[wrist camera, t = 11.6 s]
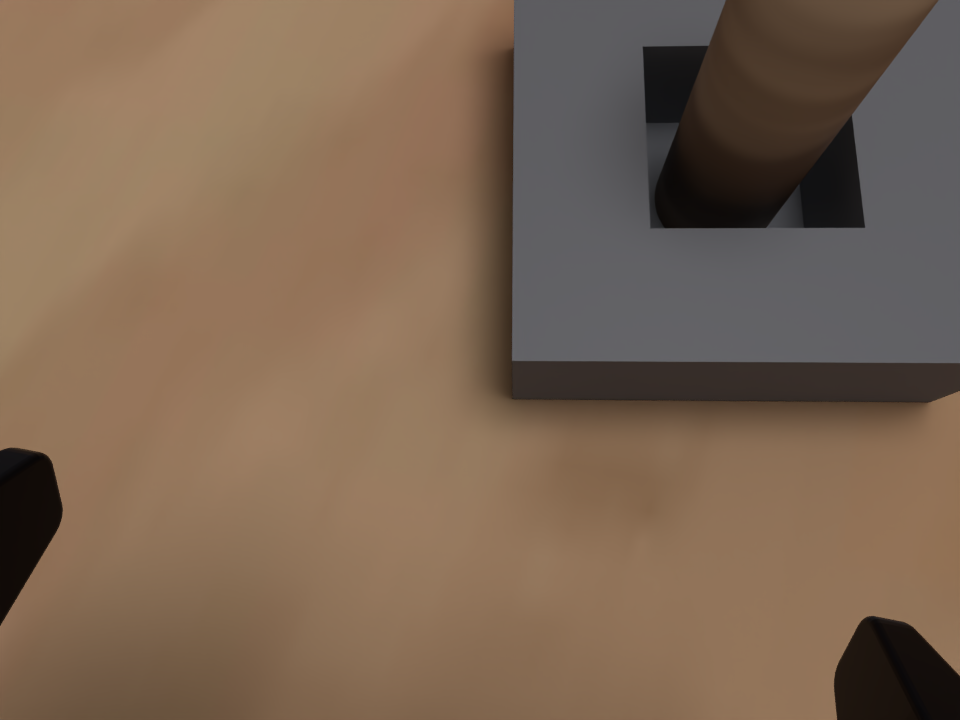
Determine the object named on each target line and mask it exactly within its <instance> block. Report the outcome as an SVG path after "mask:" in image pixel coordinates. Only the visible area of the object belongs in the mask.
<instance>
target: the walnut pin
mask: <svg viewBox="0 0 960 720" xmlns="http://www.w3.org/2000/svg"><path fill="white" fill-rule="evenodd" d="M938 1H939V0H726V1H725V4H724V6H723V9H722V12H721V14H720V17H719V20H718V22H717V25H716V28H715V30H714V33H713V36H712V38H711V41H710V44H709V46H708V49H707V51H706V54H705V57H704V59H703V62H702V65H701V67H700V70H699V73H698V75H697V78H696V81H695V83H694V86H693V89H692V91H691V94H690V97H689V99H688V102H687V104H686V107H685V110H684V112H683V115H682V118H681V120H680V123H679V126H678V128H677V131H676V134H675V136H674V139H673V142H672V144H671V147H670V150H669V152H668V155H667V157H666V160H665V163H664V165H663V168H662V171H661V173H660V176H659V179H658V181H657V184H656V189H655V207H656V211H657V214H658V217H659V219H660V221H661V223H662V225H663V226H664V228H766V227H767V226H768V225H769V223H770V222H771V221H772V220H773V218H774V217H775V216H776V214H777V213H778V212H779V210H780V209H781V208H782V206H783V205H784V204H785V202H786V201H787V200H788V198H789V197H790V196H791V194H792V193H793V192H794V190H795V189H796V188H797V187H798V185H799V184H800V183H801V181H802V180H803V179H804V177H805V176H806V175H807V173H808V172H809V171H810V169H811V168H812V167H813V165H814V164H815V163H816V161H817V160H818V159H819V158H820V156H821V155H822V154H823V152H824V151H825V150H826V148H827V147H828V146H829V144H830V143H831V142H832V140H833V139H834V138H835V136H836V135H837V134H838V132H839V131H840V130H841V128H842V127H843V126H844V125H845V123H846V122H847V121H848V119H849V118H850V117H851V115H852V114H853V113H854V111H855V110H856V109H857V107H858V106H859V105H860V103H861V102H862V101H863V99H864V98H865V97H866V96H867V94H868V93H869V92H870V90H871V89H872V88H873V86H874V85H875V84H876V82H877V81H878V80H879V78H880V77H881V76H882V74H883V73H884V72H885V70H886V69H887V68H888V66H889V65H890V64H891V63H892V61H893V60H894V59H895V57H896V56H897V55H898V53H899V52H900V51H901V49H902V48H903V47H904V45H905V44H906V43H907V41H908V40H909V39H910V37H911V36H912V35H913V33H914V32H915V31H916V30H917V28H918V27H919V26H920V24H921V23H922V22H923V20H924V19H925V18H926V16H927V15H928V14H929V12H930V11H931V10H932V8H933V7H934V6H935V4H936V3H937V2H938Z"/></svg>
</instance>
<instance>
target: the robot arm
mask: <svg viewBox="0 0 960 720" xmlns="http://www.w3.org/2000/svg"><path fill="white" fill-rule="evenodd" d="M62 512H63V507H62V502H61V497H60V493H59V489H58V485H57V481H56V476H55V472H54V468H53V464H52V461H51V460H50V458H49V457H48V456H47V455H45V454H43V453H41V452H36V451H31V450H26V449H20V448H7V449H4V450H1V451H0V625H1V624H2V622H3V620H4V619H5V617H6V615H7V614H8V612H9V610H10V609H11V607H12V605H13V604H14V602H15V600H16V599H17V597H18V595H19V593H20V592H21V590H22V588H23V587H24V585H25V583H26V582H27V580H28V578H29V577H30V575H31V573H32V572H33V570H34V568H35V567H36V565H37V563H38V562H39V560H40V558H41V557H42V555H43V553H44V552H45V550H46V548H47V547H48V545H49V543H50V541H51V540H52V538H53V536H54V535H55V533H56V531H57V529H58V527H59V525H60V522H61V519H62ZM834 692H835V703H836V713H837V720H960V676H959V675H958V673H957V672H956V671H955V670H954V669H953V668H952V667H951V666H950V665H949V664H948V663H947V662H946V661H945V660H944V659H943V658H942V657H941V656H940V655H939V654H938V653H937V651H936V650H935V649H934V648H933V647H932V646H931V645H930V644H929V643H928V642H927V641H926V640H925V639H924V638H923V637H922V636H921V635H920V634H919V633H918V632H917V631H916V630H915V629H914V628H913V627H912V626H910V625H909V624H907V623H904V622H901V621H896V620H891V619H886V618H881V617H876V616H868V617H866V618H864V619H863V620H862V621H861V622H860V624H859V625H858V627H857V629H856V631H855V633H854V635H853V636H852V638H851V640H850V642H849V644H848V646H847V648H846V650H845V652H844V653H843V655H842V657H841V659H840V661H839V663H838V665H837V668H836V672H835V678H834Z"/></svg>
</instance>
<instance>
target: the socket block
mask: <svg viewBox="0 0 960 720" xmlns="http://www.w3.org/2000/svg"><path fill="white" fill-rule="evenodd" d="M725 1H726V0H514V118H513V276H512V395H513V399H576V400H713V401H850V402H932V401H934V400H937V399H940V398H942V397H945V396H947V395H950V394H953V393H955V392H958V391H960V0H939V1H938V2H937V3H936V4H935V6H934V7H933V8H932V10H931V11H930V12H929V14H928V15H927V16H926V18H925V19H924V20H923V22H922V23H921V24H920V26H919V27H918V28H917V30H916V31H915V32H914V33H913V35H912V36H911V37H910V39H909V40H908V41H907V43H906V44H905V45H904V47H903V48H902V49H901V51H900V52H899V53H898V55H897V56H896V57H895V59H894V60H893V61H892V63H891V64H890V65H889V66H888V68H887V69H886V70H885V72H884V73H883V74H882V76H881V77H880V78H879V80H878V81H877V82H876V84H875V85H874V86H873V88H872V89H871V90H870V92H869V93H868V94H867V96H866V97H865V98H864V99H863V101H862V102H861V103H860V105H859V106H858V107H857V109H856V110H855V111H854V113H853V114H852V115H851V117H850V118H849V119H848V121H847V122H846V123H845V125H844V126H843V127H842V128H841V130H840V131H839V132H838V134H837V135H836V136H835V138H834V139H833V140H832V142H831V143H830V144H829V146H828V147H827V148H826V150H825V151H824V152H823V154H822V155H821V156H820V158H819V159H818V160H817V161H816V163H815V164H814V165H813V167H812V168H811V169H810V171H809V172H808V173H807V175H806V176H805V177H804V179H803V180H802V181H801V183H800V184H799V185H798V187H797V188H796V189H795V190H794V192H793V193H792V194H791V196H790V197H789V198H788V200H787V201H786V202H785V204H784V205H783V206H782V208H781V209H780V210H779V212H778V213H777V214H776V216H775V217H774V218H773V220H772V221H771V222H770V223H769V225H768V226H767V227H766V228H664V226H663V225H662V223H661V221H660V219H659V217H658V214H657V211H656V207H655V189H656V184H657V181H658V179H659V176H660V173H661V171H662V168H663V165H664V163H665V160H666V157H667V155H668V152H669V150H670V147H671V144H672V142H673V139H674V136H675V134H676V131H677V128H678V126H679V123H680V120H681V118H682V115H683V112H684V110H685V107H686V104H687V102H688V99H689V97H690V94H691V91H692V89H693V86H694V83H695V81H696V78H697V75H698V73H699V70H700V67H701V65H702V62H703V59H704V57H705V54H706V51H707V49H708V46H709V44H710V41H711V38H712V36H713V33H714V30H715V28H716V25H717V22H718V20H719V17H720V14H721V12H722V9H723V6H724V4H725Z"/></svg>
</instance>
